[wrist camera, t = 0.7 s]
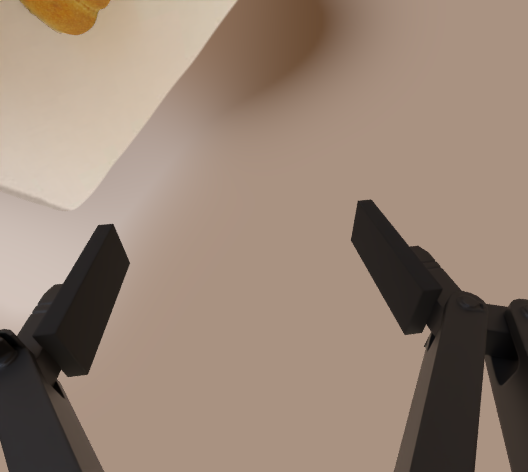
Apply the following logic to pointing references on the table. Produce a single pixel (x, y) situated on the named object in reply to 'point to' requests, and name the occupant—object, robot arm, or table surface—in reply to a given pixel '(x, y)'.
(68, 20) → the bread roll
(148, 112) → the table surface
